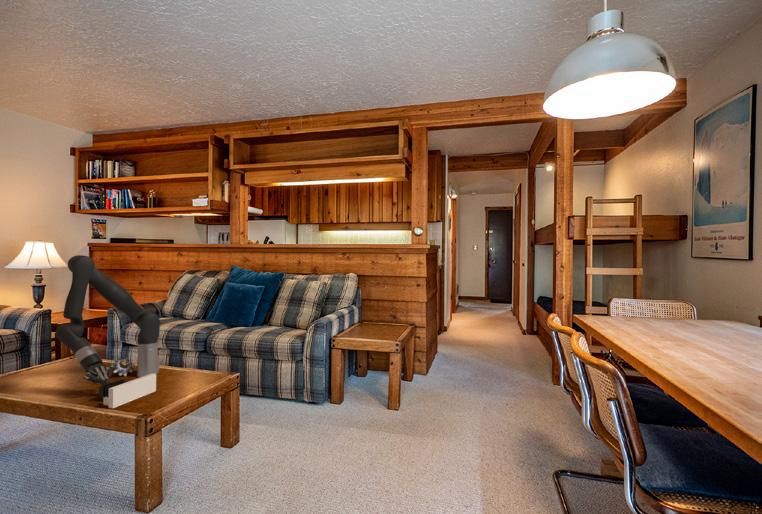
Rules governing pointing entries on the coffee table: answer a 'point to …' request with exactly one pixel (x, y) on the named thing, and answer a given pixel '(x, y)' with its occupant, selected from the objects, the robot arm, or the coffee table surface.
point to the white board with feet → (130, 391)
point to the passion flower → (122, 366)
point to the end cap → (105, 388)
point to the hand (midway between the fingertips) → (108, 387)
